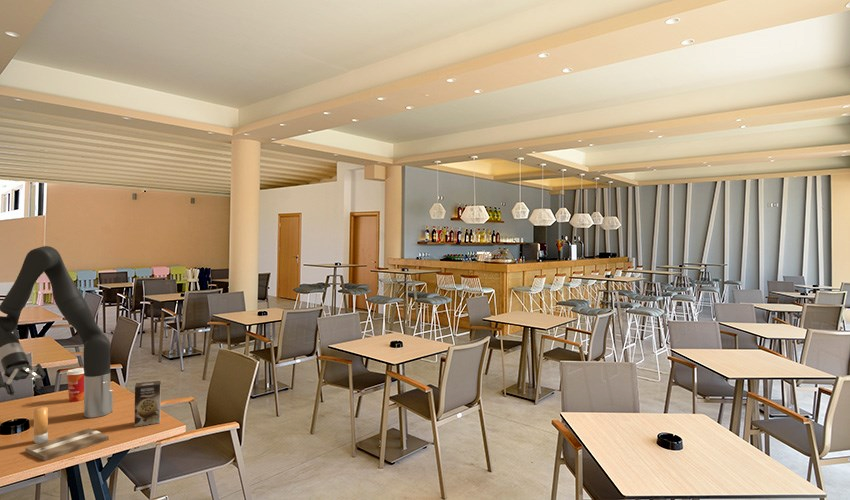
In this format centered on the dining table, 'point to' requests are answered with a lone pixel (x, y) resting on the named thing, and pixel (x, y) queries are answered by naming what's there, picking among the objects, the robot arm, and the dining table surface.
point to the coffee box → (147, 403)
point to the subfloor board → (66, 444)
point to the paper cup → (76, 384)
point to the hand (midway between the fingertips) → (26, 391)
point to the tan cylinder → (40, 424)
